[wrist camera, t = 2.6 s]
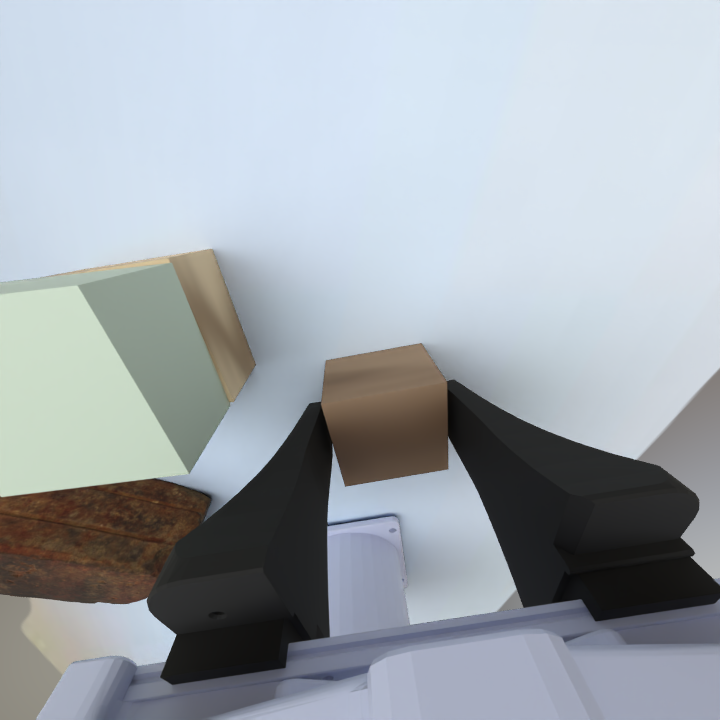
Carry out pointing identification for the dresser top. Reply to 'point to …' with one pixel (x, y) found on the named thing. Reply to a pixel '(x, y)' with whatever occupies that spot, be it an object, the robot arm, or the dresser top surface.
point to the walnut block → (386, 414)
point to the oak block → (207, 313)
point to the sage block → (102, 380)
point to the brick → (94, 539)
